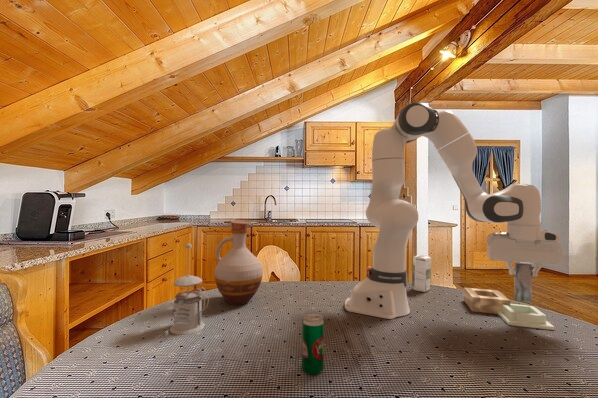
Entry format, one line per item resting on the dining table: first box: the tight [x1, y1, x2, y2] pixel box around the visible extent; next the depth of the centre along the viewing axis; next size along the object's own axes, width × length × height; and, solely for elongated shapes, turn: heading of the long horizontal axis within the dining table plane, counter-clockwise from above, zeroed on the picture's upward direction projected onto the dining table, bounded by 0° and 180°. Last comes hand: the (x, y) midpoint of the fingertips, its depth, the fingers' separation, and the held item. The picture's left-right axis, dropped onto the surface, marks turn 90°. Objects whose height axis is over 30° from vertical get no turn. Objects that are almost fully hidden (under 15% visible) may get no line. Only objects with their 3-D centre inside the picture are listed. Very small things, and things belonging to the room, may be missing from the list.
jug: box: [214, 220, 264, 306], centre depth 111 cm, size 20×18×30 cm
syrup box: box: [411, 254, 432, 293], centre depth 127 cm, size 6×6×14 cm
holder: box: [497, 303, 555, 331], centre depth 96 cm, size 12×12×4 cm
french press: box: [169, 243, 210, 336], centre depth 87 cm, size 10×12×25 cm
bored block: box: [463, 287, 511, 315], centre depth 107 cm, size 12×12×5 cm
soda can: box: [301, 313, 325, 376], centre depth 67 cm, size 5×5×12 cm
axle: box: [513, 262, 533, 304], centre depth 96 cm, size 4×4×12 cm
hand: (523, 275), depth 96 cm, fingers closed on axle, 4 cm apart
